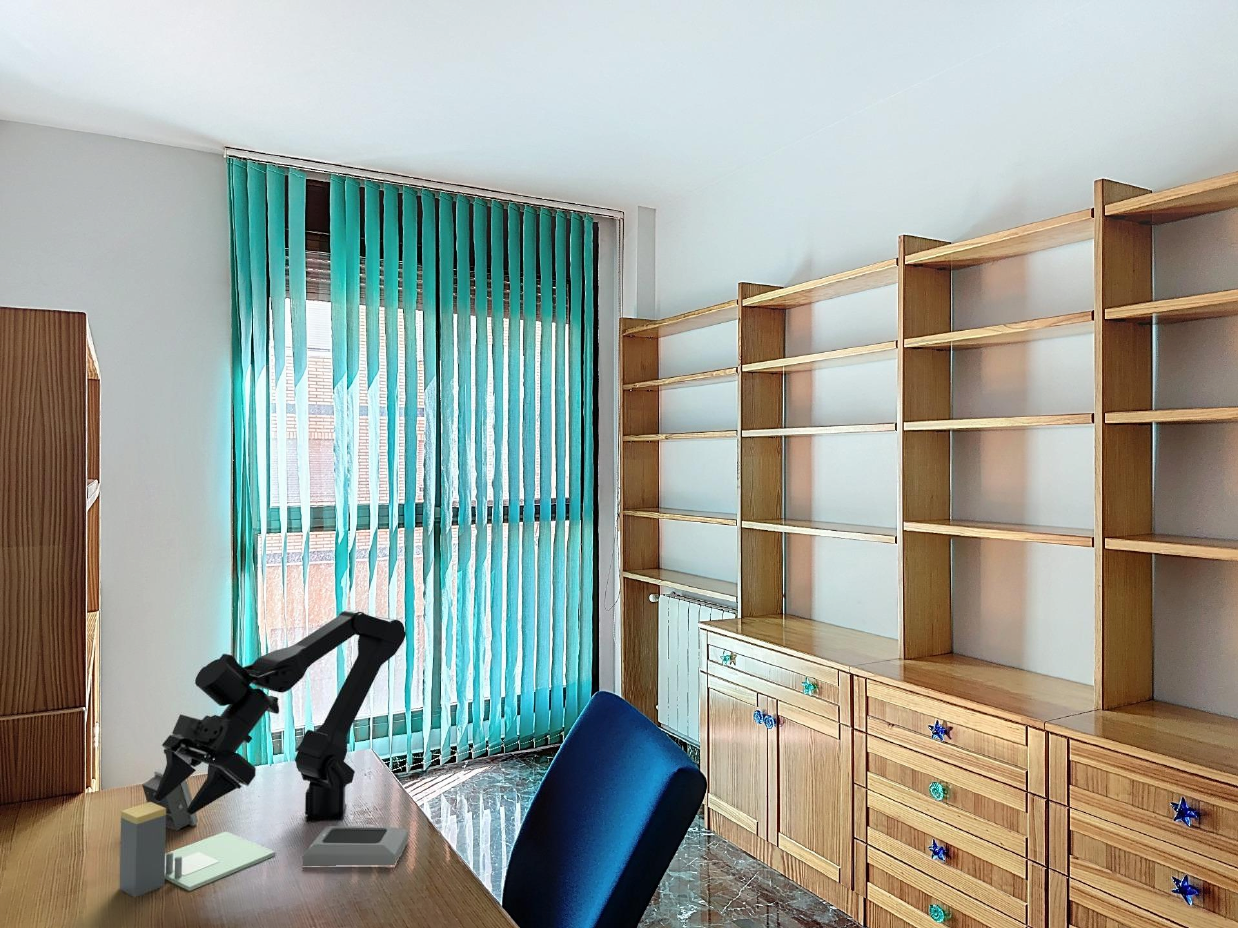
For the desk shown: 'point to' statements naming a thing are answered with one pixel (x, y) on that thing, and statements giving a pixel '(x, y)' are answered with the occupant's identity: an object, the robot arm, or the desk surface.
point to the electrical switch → (172, 802)
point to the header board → (212, 860)
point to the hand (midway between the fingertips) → (172, 806)
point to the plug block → (142, 848)
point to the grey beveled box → (356, 846)
